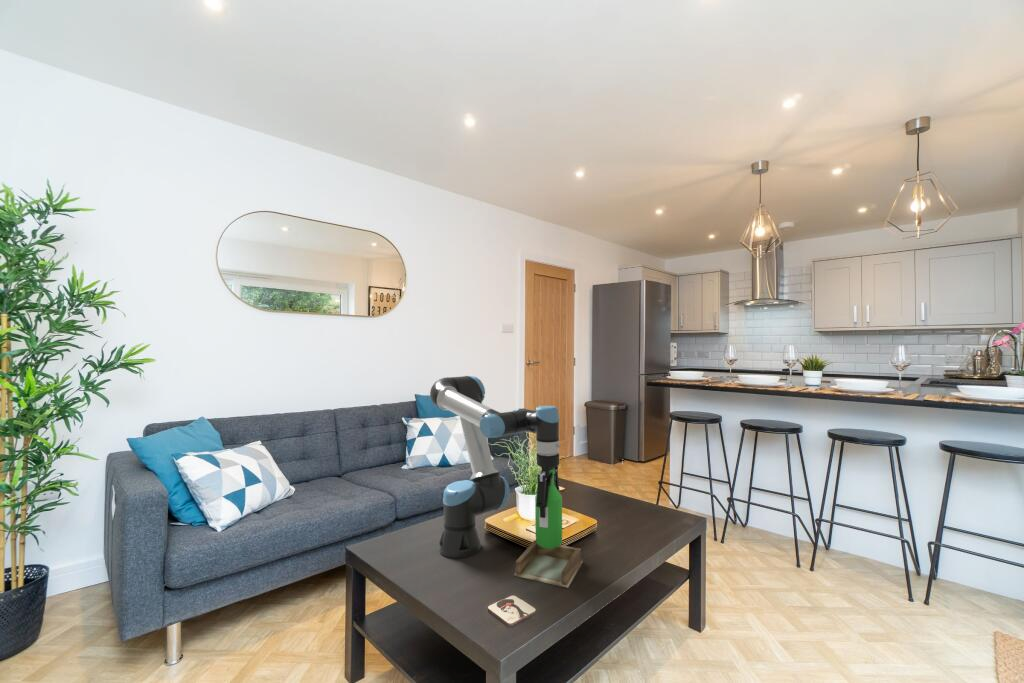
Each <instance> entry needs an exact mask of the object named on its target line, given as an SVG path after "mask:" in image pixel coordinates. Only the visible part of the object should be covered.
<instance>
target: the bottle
mask: <svg viewBox="0 0 1024 683" xmlns="http://www.w3.org/2000/svg"><path fill="white" fill-rule="evenodd" d="M551 472H553V477H552V481H551V486H549V492H548V500H547V507H548V528H545V527H539V507H537V506H536V504H537V493H536V494H535V498H534V499H535V500H534V501H535V502H534V504H535V506H534V507H535V514H534V515H535V518H534V520H535V521H534V522H535V540H536V543H537V544H538V545H539V546H541V547H543V548H547V549H552V548H556V547H558V546H560V545H562V544H563V496H562V494H561V493H560V490H559V491H558V490H557V489H556V487H555V486H554V474H555V471H554V468H551V469H550V471H549V475H550V473H551ZM546 483H548V482H546Z"/></svg>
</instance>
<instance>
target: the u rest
mask: <svg viewBox="0 0 1024 683" xmlns="http://www.w3.org/2000/svg"><path fill="white" fill-rule="evenodd" d="M583 562H584V561H583V560H582V549H581V548H578V547H573V546H567V545H562V544H561V545H560V546H558V547H556V548H552V549H547V548H543V547H541V546H539V545H538V544H537V543H536V539H534V540H533V541H532V542H531V544H529V546H528V547H527V548H526V549H525V550H524V551H523V553H522V554H520V556H519V557H518V558H517V559H516V561H515V573H514V574H513V576H515V577H519V578H523V579H528V580H532V581H537V582H540V583H545V584H550V585H554V586H558V587H562V588H567V589H568V588H569V587H570V585H571V584H572V582H573V580H574V578H575V576H576V575H577V573H578V571H579V570H580V568H581V566H582V564H583Z"/></svg>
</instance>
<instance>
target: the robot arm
mask: <svg viewBox="0 0 1024 683" xmlns="http://www.w3.org/2000/svg"><path fill="white" fill-rule="evenodd" d="M485 394H486V388H485V386H484V383H483V382H482V380H481V379H479V378H478V377H477V376H472V375H471V376H470V375H463V376H454V377H453V376H451V377H448V376H447V377H443V378H439V379H438V380H436V381H434V383H433V385H432V386H431V388H430V392H429V396H430V397H429V398H430V401H431V403H432V404H433V405H434V406H436V408H438V409H440V410H441V411H449V412H451V413H453V414H454V415H456V416H459V419H460V423H461V427H462V432H463V433H462V434H463V436H464V441H465V445H466V450H467V453H468V458H469V464H470V466H471V471H472V475H471V476H470V478H469V480H468V479H467V480H466V479H464V480H457V481H454V482H451V483H450V484H448V485H446V487H444V490H443V498H442V503H443V530H442V532H441V535H440V539H439V543H438V552H439V553H440V554H441V555H442V556H444V557H447V558H452V559H460V558H461V559H463V558H467V557H470V556H474V555H475V554H477V553H478V552H479V551H481V539H480V537H479V536H480V535H479V533H478V532H479V531H478V530H477V529H478V528H477V527H476V526H477V525H476V519H477V518H476V517H478V516H479V515H480V516H481V515H483V514H487V513H490V512H493V511H497V510H498V509H501V508H503V507H505V506H506V505H507V503H508V500H509V498H510V493H511V491H510V485H509V482H508V481H507V480H506V478H505V477H504V476H501V475H500V471H499V470H498V469H496V468H495V467H494V466H495V465H494V463H493V458H492V454H491V451H490V450H491V449H490V445H489V441H488V439H492V438H494V439H495V438H499V437H504V436H508V435H509V436H510V435H515V434H516V435H517V434H521V433H525V432H526V433H527V432H528V433H534V434H536V435H535V436H536V443H535V444H536V446H535V447H536V465H537V466H538V467H540V468H541V470H540V474H538V475H537V477H536V478H537V489H536V490H537V491H536V494H537V504H536V506H537V507H539V527H545V528H548V507H547V500H548V492H549V486H551V481H552V477H553V472H551V473H550V475H549V471H550V469H551V468H554V471H555V474H554V486H555V487H556V489H557V490H558V491H559V492H560V482H559V481H560V480H559V465H560V453H559V452H560V448H561V443H560V416H559V414H560V413H559V408H558V407H557V406H555V405H539V406H538V405H537V407H536V409H535V410H534V409H528V408H515V409H513V410H512V411H504V412H500V411H498V410H496V409H493V408H491V407H489V406H487V405H485V404H483V401H484V400H485V397H486V395H485ZM546 482H548V483H546Z"/></svg>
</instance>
